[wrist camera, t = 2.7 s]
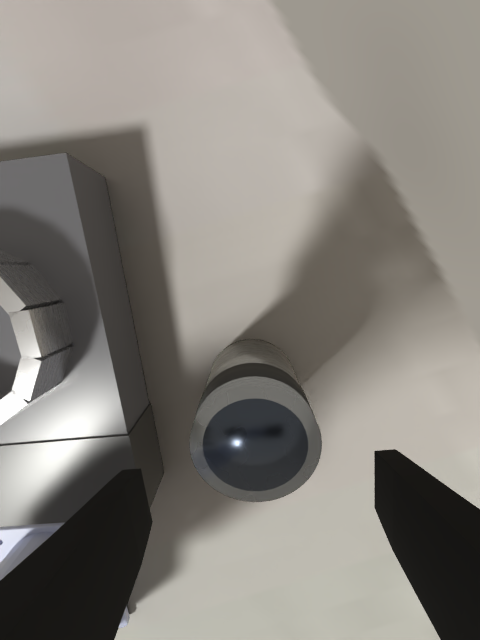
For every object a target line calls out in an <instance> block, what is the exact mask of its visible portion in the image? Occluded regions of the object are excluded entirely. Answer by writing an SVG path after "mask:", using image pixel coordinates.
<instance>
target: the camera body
mask: <svg viewBox="0 0 480 640" xmlns="http://www.w3.org/2000/svg"><path fill="white" fill-rule="evenodd" d="M140 468H141V471H142V476H143V481H144V485H145V490H146V494H147V499H148V504H149V508H150V507H151V504H152V502H153V499H154V497H155V494H156V492H157V489H158V487H159V484H160V482H161V479H162V477H163V474H164V469H163V464H162V459H161V454H160V449H159V443H158V438H157V433H156V428H155V423H154V418H153V412H152V407H151V404H149V400H148V395H147V390H146V385H145V380H144V374H143V369H142V364H141V359H140V354H139V349H138V344H137V338H136V333H135V328H134V323H133V318H132V313H131V308H130V302H129V297H128V292H127V287H126V282H125V277H124V272H123V267H122V261H121V256H120V251H119V246H118V241H117V236H116V231H115V225H114V220H113V215H112V210H111V205H110V200H109V195H108V190H107V184H106V179H105V177H104V176H102V175H101V174H99V173H98V172H96V171H95V170H93V169H91V168H90V167H88V166H87V165H85V164H83V163H82V162H80V161H79V160H77V159H75V158H74V157H72V156H71V155H69V154H67V153H59V154H52V155H44V156H37V157H30V158H22V159H15V160H7V161H0V527H5V526H20V525H35V524H49V523H64V522H66V521H68V520H69V519H70V518H71V517H72V516H73V515H74V514H75V513H76V512H77V511H78V510H79V509H80V508H81V507H83V506H84V505H85V504H86V503H87V502H88V501H89V500H90V499H91V498H92V497H93V496H94V495H95V494H96V493H97V492H98V491H99V490H100V489H102V488H103V487H104V486H105V485H106V484H107V483H108V482H109V481H110V480H111V479H112V478H113V477H114V476H116V475H117V474H118V473H119V472H120V471H121V470H126V469H140Z"/></svg>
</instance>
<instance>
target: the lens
mask: <svg viewBox="0 0 480 640" xmlns="http://www.w3.org/2000/svg"><path fill="white" fill-rule="evenodd" d="M189 445H190V453H191V458H192V461H193V463H194V466H195V468H196V469H197V471H198V473H199V474H200V476H201V477H202V478H203V479H204V480H205V481H206V482H207V483H208V484H209V485H210V486H211V487H212V488H214V489H215V490H217V491H218V492H220V493H222V494H224V495H226V496H228V497H231V498H234V499H237V500H242V501H249V502H263V501H270V500H275V499H278V498H281V497H284V496H286V495H288V494H290V493H292V492H294V491H295V490H297V489H298V488H299V487H301V486H302V485H303V484H304V483H305V482H306V481H307V480H308V479H309V478H310V476H311V475H312V473H313V472H314V470H315V468H316V466H317V464H318V462H319V459H320V455H321V449H322V440H321V433H320V430H319V426H318V424H317V422H316V419H315V417H314V414H313V412H312V409H311V407H310V405H309V403H308V401H307V398H306V396H305V394H304V392H303V390H302V388H301V386H300V384H299V382H298V380H297V377H296V375H295V373H294V371H293V369H292V366H291V364H290V362H289V360H288V358H287V357H286V355H285V354H284V353H283V352H282V351H281V350H280V349H279V348H277V347H276V346H274V345H272V344H271V343H268V342H265V341H262V340H255V339H248V340H242V341H238V342H236V343H233V344H231V345H230V346H228V347H226V348H225V349H224V350H223V351H222V352H221V353H220V354H219V355H218V357H217V358H216V360H215V362H214V364H213V366H212V369H211V372H210V375H209V378H208V381H207V384H206V387H205V390H204V393H203V395H202V398H201V401H200V404H199V407H198V410H197V413H196V416H195V419H194V423H193V426H192V429H191V434H190V443H189Z"/></svg>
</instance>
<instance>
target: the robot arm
mask: <svg viewBox="0 0 480 640" xmlns="http://www.w3.org/2000/svg"><path fill="white" fill-rule="evenodd" d="M375 509H376V512H377V514H378V517H379V519H380V522H381V524H382V526H383V529H384V531H385V533H386V536H387V538H388V540H389V543H390V545H391V547H392V550H393V551H394V553H395V555H396V557H397V559H398V561H399V563H400V565H401V567H402V568H403V570H404V572H405V574H406V576H407V578H408V580H409V582H410V583H411V585H412V587H413V589H414V591H415V593H416V595H417V596H418V598H419V600H420V602H421V604H422V606H423V608H424V609H425V611H426V613H427V615H428V617H429V619H430V621H431V622H432V624H433V626H434V628H435V630H436V632H437V634H438V635H439V637H440V639H441V640H480V509H479V508H477V507H476V506H474V505H473V504H471V503H470V502H469V501H467V500H466V499H464V498H463V497H461V496H460V495H459V494H457V493H456V492H454V491H453V490H451V489H450V488H449V487H447V486H446V485H444V484H443V483H442V482H440V481H439V480H438V479H436V478H435V477H433V476H432V475H431V474H429V473H428V472H426V471H425V470H424V469H422V468H421V467H419V466H418V465H417V464H415V463H414V462H413V461H411V460H410V459H408V458H407V457H406V456H404V455H403V454H401V453H400V452H398V451H397V450H382V451H375ZM151 526H152V518H151V513H150V508H149V504H148V499H147V494H146V490H145V485H144V481H143V476H142V471H141V468H140V469H126V470H121V471H120V472H119V473H118V474H117V475H116V476H114V477H113V478H112V479H111V480H110V481H109V482H108V483H107V484H106V485H105V486H104V487H103V488H102V489H100V490H99V491H98V492H97V493H96V494H95V495H94V496H93V497H92V498H91V499H90V500H89V501H88V502H87V503H86V504H85V505H84V506H83V507H81V508H80V509H79V510H78V511H77V512H76V513H75V514H74V515H73V516H72V517H71V518H70V519H69V520H68V521H66V522H64V523H49V524H35V525H20V526H5V527H0V640H114V638H115V636H116V633H117V630H118V628H122V627H125V626H127V624H128V621H129V613H128V609H127V603H128V600H129V597H130V595H131V592H132V589H133V586H134V584H135V581H136V578H137V575H138V572H139V570H140V567H141V564H142V560H143V557H144V553H145V549H146V546H147V542H148V538H149V534H150V530H151Z"/></svg>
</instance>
